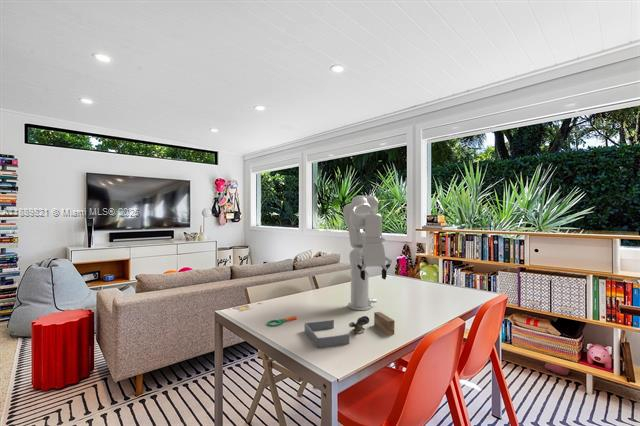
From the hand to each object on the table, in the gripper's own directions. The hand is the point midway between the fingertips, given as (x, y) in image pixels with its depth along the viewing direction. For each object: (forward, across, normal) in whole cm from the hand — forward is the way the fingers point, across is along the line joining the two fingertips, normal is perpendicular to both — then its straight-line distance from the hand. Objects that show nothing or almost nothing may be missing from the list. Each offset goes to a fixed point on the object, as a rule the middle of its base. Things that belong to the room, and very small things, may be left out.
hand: (373, 279), depth 139 cm
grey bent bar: (+22, +23, +7) cm, 32 cm away
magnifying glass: (+22, +40, -13) cm, 47 cm away
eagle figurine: (+22, +8, +3) cm, 23 cm away
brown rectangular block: (+22, -4, +2) cm, 22 cm away
